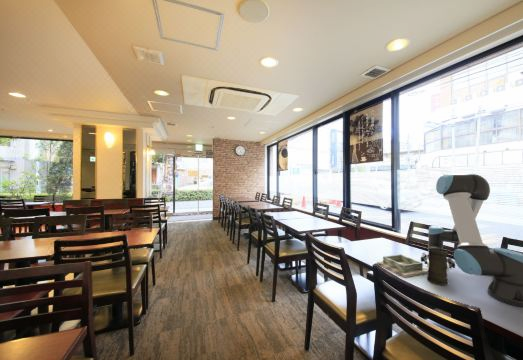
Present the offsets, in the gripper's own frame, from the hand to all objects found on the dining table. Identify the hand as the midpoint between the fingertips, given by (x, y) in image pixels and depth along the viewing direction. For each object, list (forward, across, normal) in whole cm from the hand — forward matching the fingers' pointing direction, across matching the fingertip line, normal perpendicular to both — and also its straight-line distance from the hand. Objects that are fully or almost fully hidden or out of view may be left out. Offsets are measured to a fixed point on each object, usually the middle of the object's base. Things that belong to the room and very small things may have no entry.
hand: (438, 266), depth 114 cm
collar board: (-14, +17, -10) cm, 24 cm away
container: (-5, 0, -10) cm, 11 cm away
